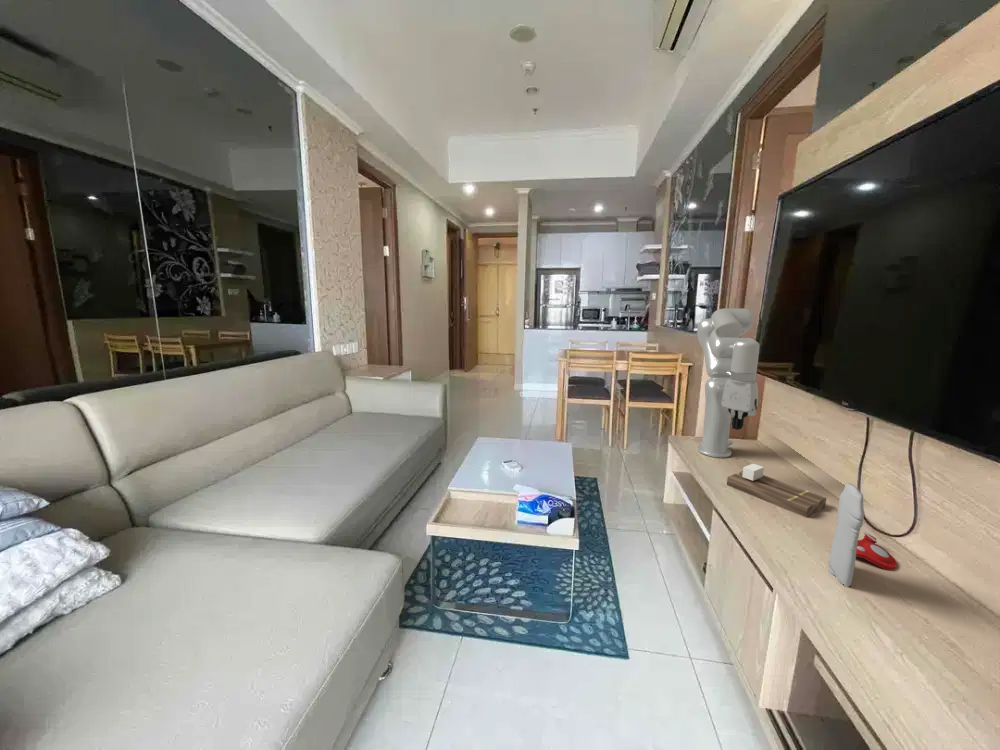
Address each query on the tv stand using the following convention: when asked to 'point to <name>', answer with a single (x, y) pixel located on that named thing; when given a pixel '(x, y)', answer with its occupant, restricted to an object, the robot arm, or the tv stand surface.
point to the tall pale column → (846, 534)
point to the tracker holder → (875, 553)
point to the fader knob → (753, 472)
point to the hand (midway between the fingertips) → (737, 428)
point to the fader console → (779, 494)
